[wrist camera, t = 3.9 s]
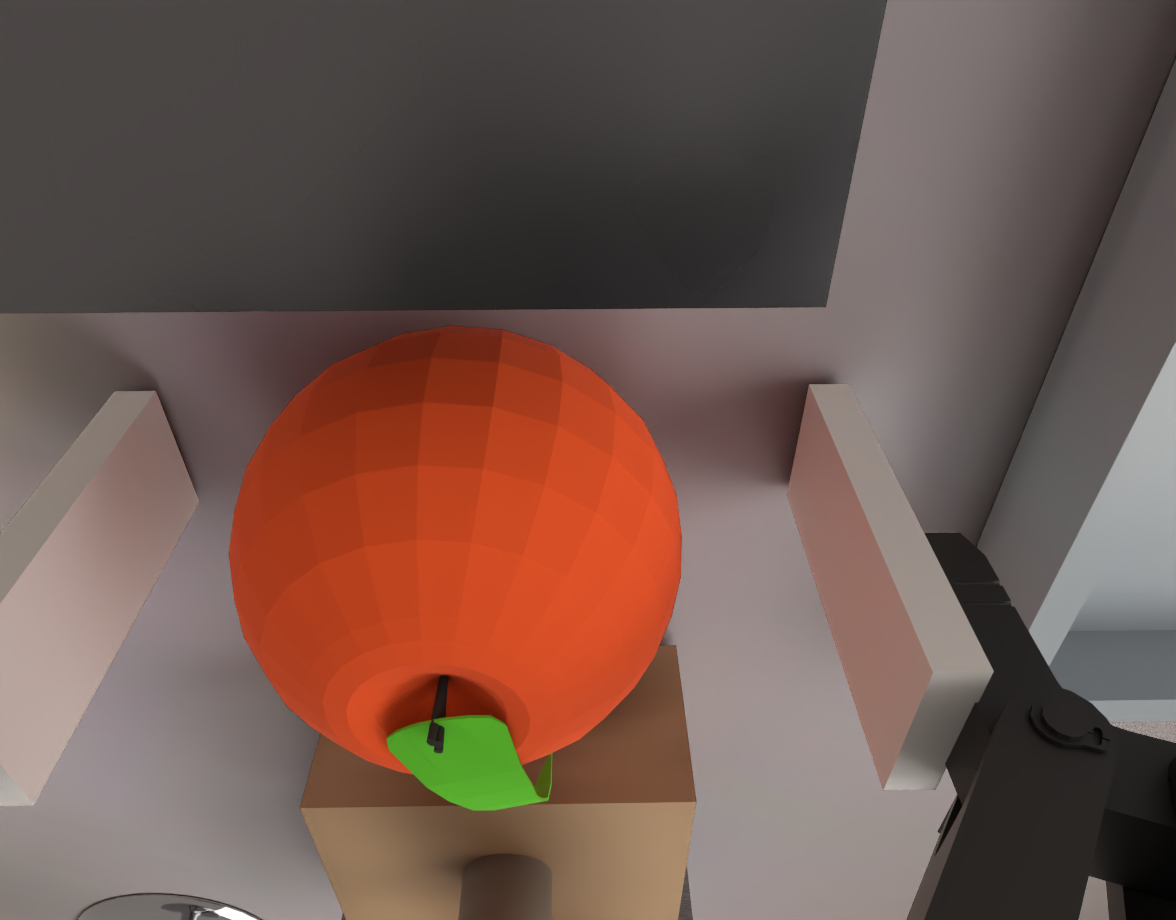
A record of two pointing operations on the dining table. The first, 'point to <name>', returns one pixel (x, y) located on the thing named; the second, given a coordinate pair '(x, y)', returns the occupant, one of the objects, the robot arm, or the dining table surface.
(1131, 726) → the dining table surface
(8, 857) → the dining table surface
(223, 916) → the wine glass
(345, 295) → the frame
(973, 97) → the dining table surface
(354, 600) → the clementine
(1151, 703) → the tray
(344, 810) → the slider
